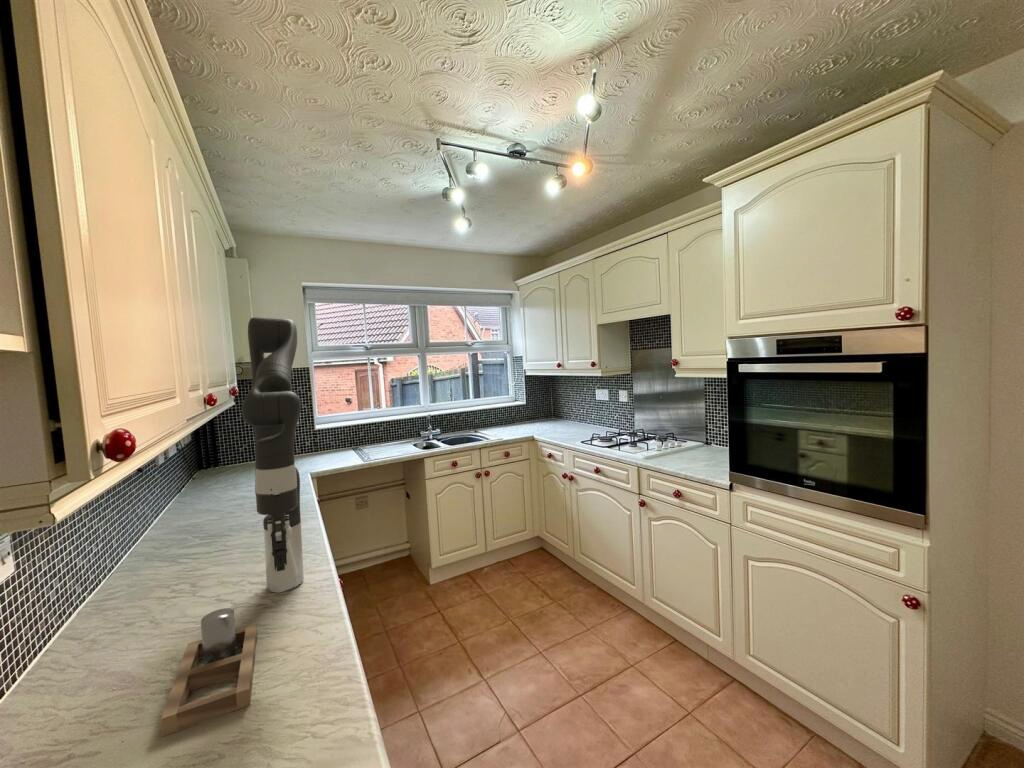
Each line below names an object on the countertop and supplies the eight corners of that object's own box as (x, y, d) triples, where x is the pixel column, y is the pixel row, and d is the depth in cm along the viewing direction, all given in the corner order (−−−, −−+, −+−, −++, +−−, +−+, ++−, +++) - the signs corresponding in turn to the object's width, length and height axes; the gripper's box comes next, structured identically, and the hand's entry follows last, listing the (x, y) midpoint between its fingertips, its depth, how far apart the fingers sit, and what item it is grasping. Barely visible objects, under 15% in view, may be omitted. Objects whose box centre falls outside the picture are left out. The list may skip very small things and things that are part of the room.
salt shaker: (291, 577, 91) (288, 519, 90) (303, 585, 87) (300, 525, 86) (262, 588, 86) (259, 528, 86) (273, 598, 82) (269, 534, 82)
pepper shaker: (206, 659, 86) (203, 613, 86) (238, 650, 89) (235, 605, 89) (201, 676, 81) (198, 627, 81) (235, 666, 84) (232, 618, 84)
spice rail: (188, 657, 87) (187, 643, 87) (257, 637, 93) (256, 624, 93) (162, 736, 68) (160, 718, 68) (250, 704, 74) (249, 688, 74)
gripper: (257, 482, 90) (261, 559, 91) (253, 499, 78) (258, 588, 78) (296, 477, 94) (299, 551, 94) (298, 492, 81) (302, 577, 82)
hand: (281, 567), depth 86 cm, fingers closed on salt shaker, 3 cm apart
